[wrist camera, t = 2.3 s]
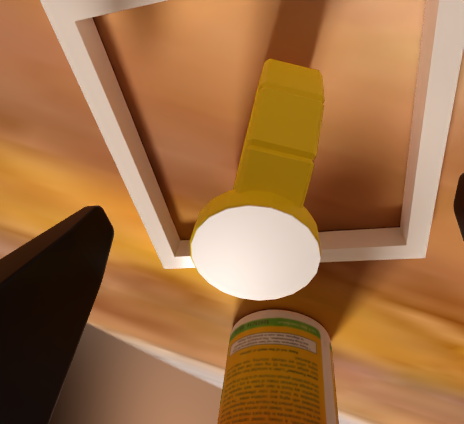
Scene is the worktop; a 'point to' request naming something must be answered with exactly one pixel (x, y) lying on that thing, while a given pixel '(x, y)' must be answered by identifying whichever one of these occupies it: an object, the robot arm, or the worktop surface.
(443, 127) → the white square frame
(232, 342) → the supplement bottle
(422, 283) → the worktop surface
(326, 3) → the worktop surface
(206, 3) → the worktop surface
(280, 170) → the watch
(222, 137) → the worktop surface
